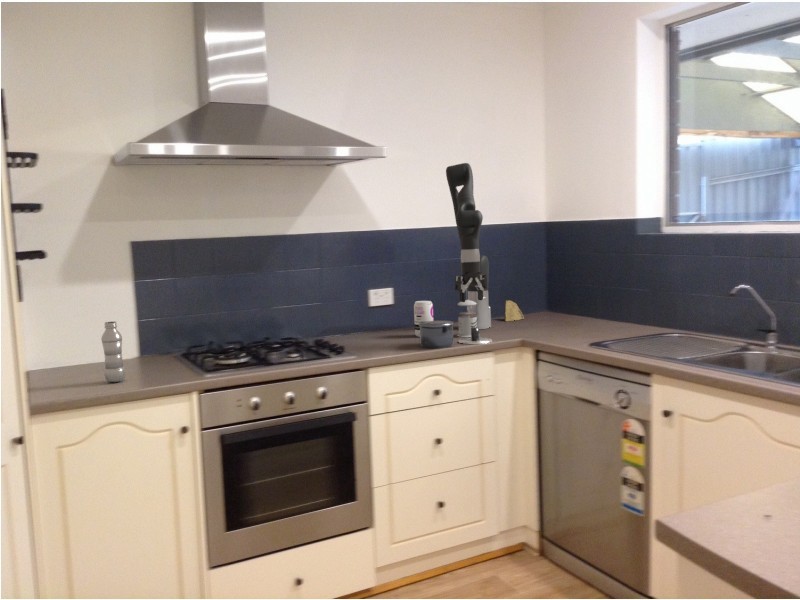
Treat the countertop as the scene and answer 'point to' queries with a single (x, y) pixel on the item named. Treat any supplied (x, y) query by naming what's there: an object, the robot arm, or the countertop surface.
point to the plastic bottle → (113, 353)
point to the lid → (475, 338)
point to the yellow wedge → (512, 311)
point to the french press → (466, 319)
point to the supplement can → (422, 314)
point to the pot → (436, 334)
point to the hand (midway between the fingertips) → (471, 301)
